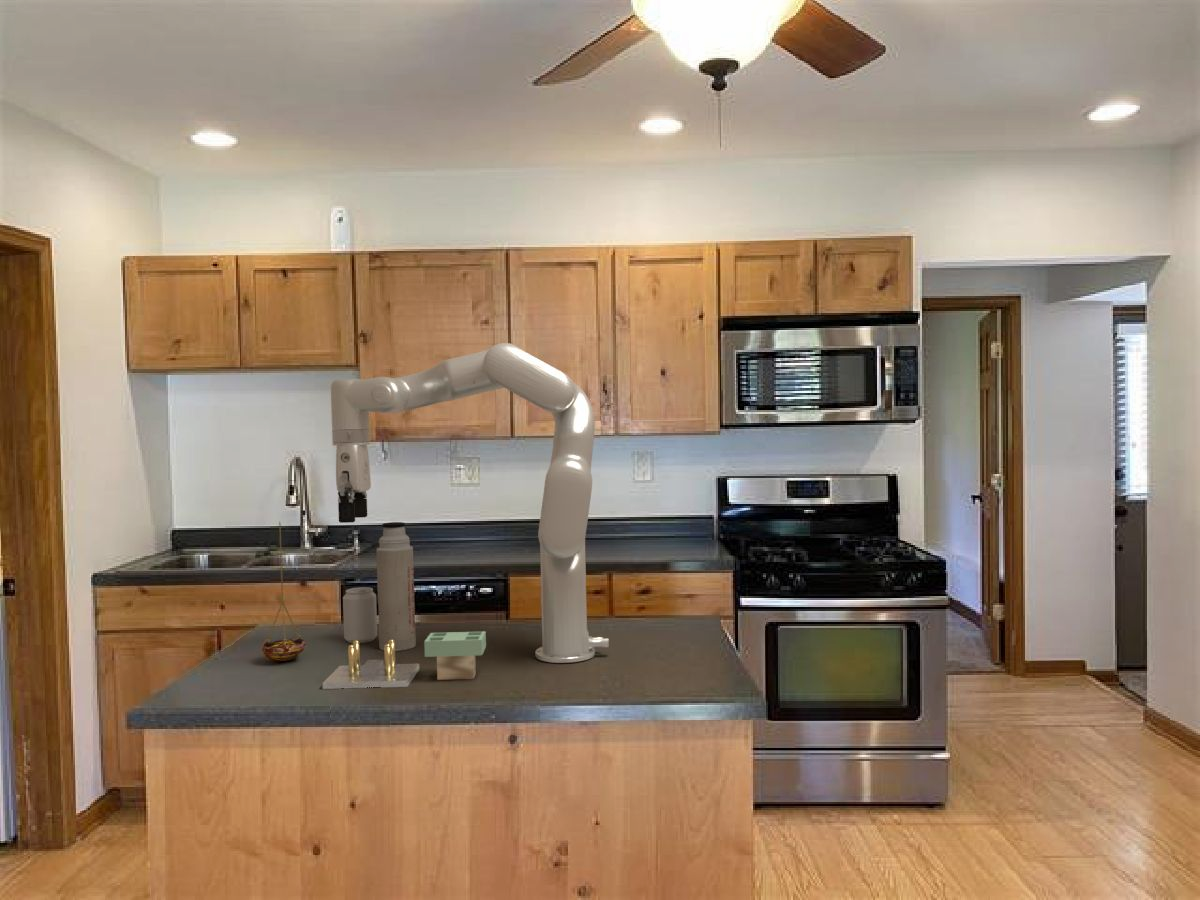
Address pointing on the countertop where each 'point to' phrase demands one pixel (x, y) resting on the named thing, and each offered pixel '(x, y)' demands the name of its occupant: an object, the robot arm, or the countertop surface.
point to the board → (455, 644)
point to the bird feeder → (286, 647)
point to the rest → (455, 667)
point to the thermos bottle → (396, 588)
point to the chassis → (371, 671)
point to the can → (360, 615)
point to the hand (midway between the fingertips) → (353, 519)
